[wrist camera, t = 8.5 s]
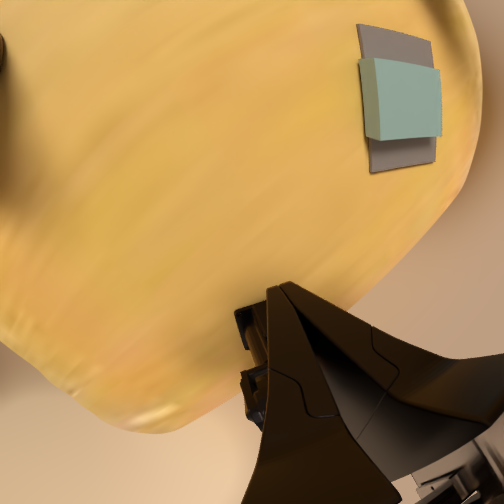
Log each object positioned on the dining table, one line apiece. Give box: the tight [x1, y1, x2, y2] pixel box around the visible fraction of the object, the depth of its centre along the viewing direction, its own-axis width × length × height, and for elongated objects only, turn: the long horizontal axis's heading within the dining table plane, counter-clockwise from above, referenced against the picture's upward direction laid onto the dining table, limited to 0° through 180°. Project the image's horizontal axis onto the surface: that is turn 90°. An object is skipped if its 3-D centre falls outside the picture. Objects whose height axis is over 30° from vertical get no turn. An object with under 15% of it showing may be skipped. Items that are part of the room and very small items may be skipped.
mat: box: [356, 24, 436, 173], centre depth 20 cm, size 14×10×1 cm
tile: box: [359, 58, 442, 141], centre depth 18 cm, size 7×2×9 cm
